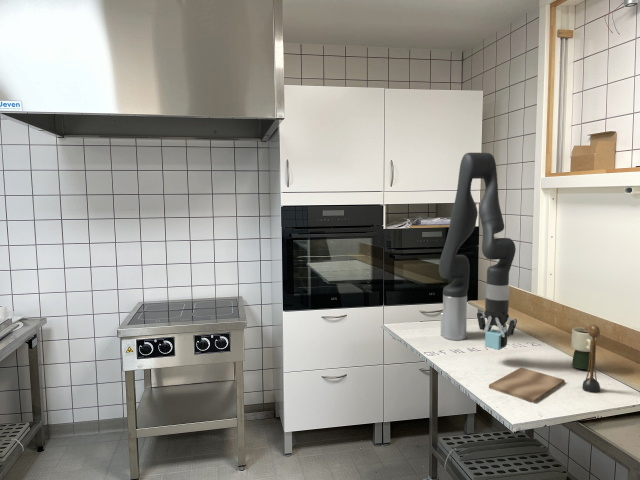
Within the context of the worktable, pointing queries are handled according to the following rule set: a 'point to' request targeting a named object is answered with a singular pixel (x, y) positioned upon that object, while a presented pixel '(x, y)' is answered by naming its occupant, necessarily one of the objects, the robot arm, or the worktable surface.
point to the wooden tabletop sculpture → (592, 361)
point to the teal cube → (493, 339)
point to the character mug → (581, 348)
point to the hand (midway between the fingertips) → (495, 344)
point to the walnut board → (527, 384)
